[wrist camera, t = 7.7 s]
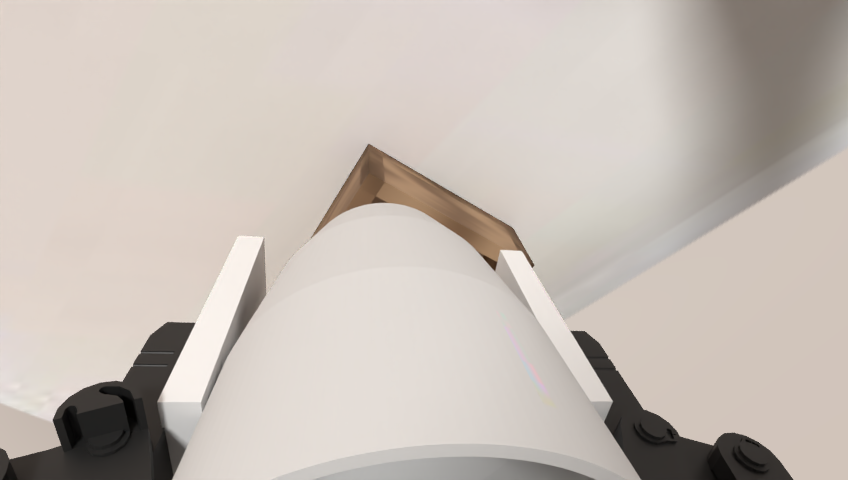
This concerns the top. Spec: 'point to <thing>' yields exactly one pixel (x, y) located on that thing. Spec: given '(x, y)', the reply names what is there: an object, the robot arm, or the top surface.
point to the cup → (396, 371)
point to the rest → (422, 203)
